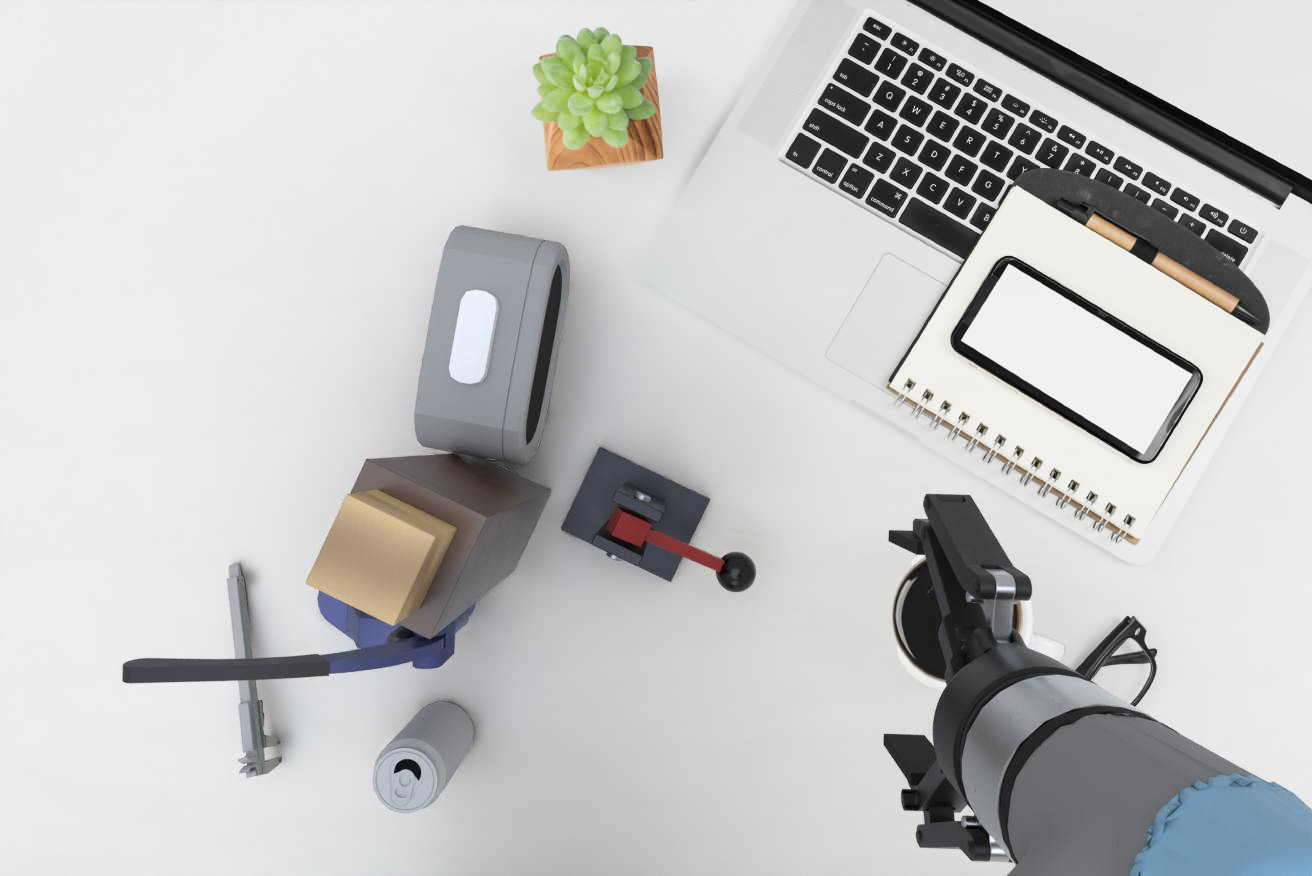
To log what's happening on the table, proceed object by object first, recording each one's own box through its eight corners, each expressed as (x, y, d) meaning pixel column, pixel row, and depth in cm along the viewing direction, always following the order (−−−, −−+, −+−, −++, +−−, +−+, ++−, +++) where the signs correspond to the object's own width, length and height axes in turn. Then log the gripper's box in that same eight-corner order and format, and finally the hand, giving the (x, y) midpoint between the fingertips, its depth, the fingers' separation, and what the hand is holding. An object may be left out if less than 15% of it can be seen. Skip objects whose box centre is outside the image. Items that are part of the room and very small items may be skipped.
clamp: (491, 557, 83) (396, 620, 55) (489, 645, 83) (392, 751, 55) (305, 551, 83) (117, 609, 55) (303, 637, 83) (113, 739, 55)
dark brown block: (514, 571, 83) (430, 639, 55) (433, 532, 83) (308, 581, 55) (552, 490, 83) (488, 517, 55) (471, 451, 83) (366, 458, 55)
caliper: (285, 760, 83) (253, 786, 77) (274, 762, 83) (242, 788, 77) (241, 562, 83) (205, 572, 77) (230, 564, 83) (194, 575, 77)
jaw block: (419, 609, 55) (393, 626, 50) (338, 570, 55) (304, 583, 50) (457, 527, 55) (435, 536, 50) (376, 488, 55) (346, 493, 50)
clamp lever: (753, 555, 76) (769, 566, 73) (736, 590, 76) (751, 603, 73) (618, 496, 72) (628, 505, 68) (600, 533, 72) (609, 544, 68)
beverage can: (483, 709, 83) (450, 755, 71) (466, 770, 83) (430, 827, 71) (422, 691, 83) (379, 734, 71) (405, 753, 83) (359, 806, 71)
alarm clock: (540, 464, 83) (513, 469, 69) (447, 446, 83) (402, 448, 69) (576, 261, 82) (556, 226, 69) (483, 244, 83) (445, 207, 69)
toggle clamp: (709, 498, 82) (715, 510, 68) (670, 580, 82) (669, 608, 68) (600, 446, 82) (585, 448, 69) (562, 528, 83) (538, 546, 69)
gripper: (1134, 1069, 34) (958, 826, 55) (1149, 461, 34) (967, 452, 55) (950, 1061, 34) (845, 822, 55) (965, 456, 34) (854, 449, 55)
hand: (906, 637), depth 55 cm, fingers open, 13 cm apart
